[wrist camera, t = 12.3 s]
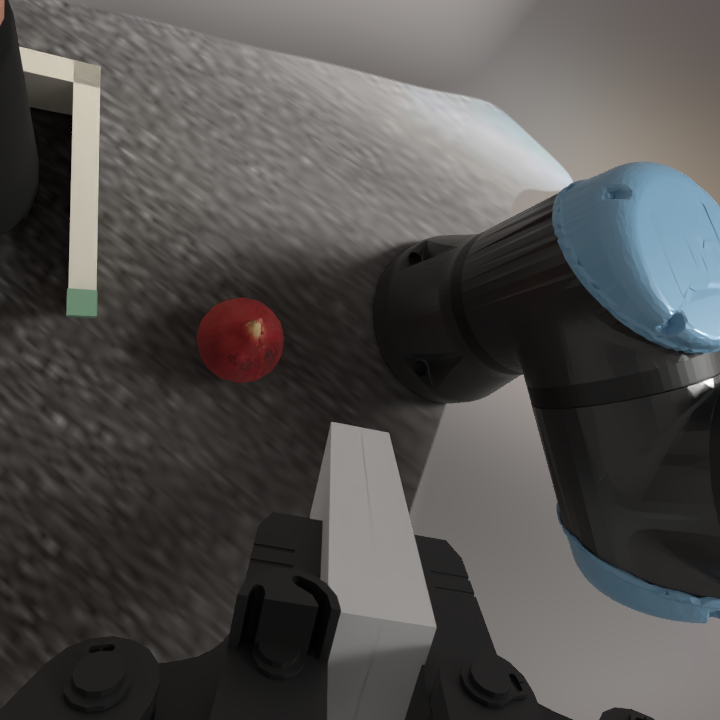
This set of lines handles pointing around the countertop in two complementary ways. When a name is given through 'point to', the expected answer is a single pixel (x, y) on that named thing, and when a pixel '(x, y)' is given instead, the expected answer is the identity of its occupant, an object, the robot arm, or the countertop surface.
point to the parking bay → (74, 161)
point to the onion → (240, 340)
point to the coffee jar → (14, 130)
